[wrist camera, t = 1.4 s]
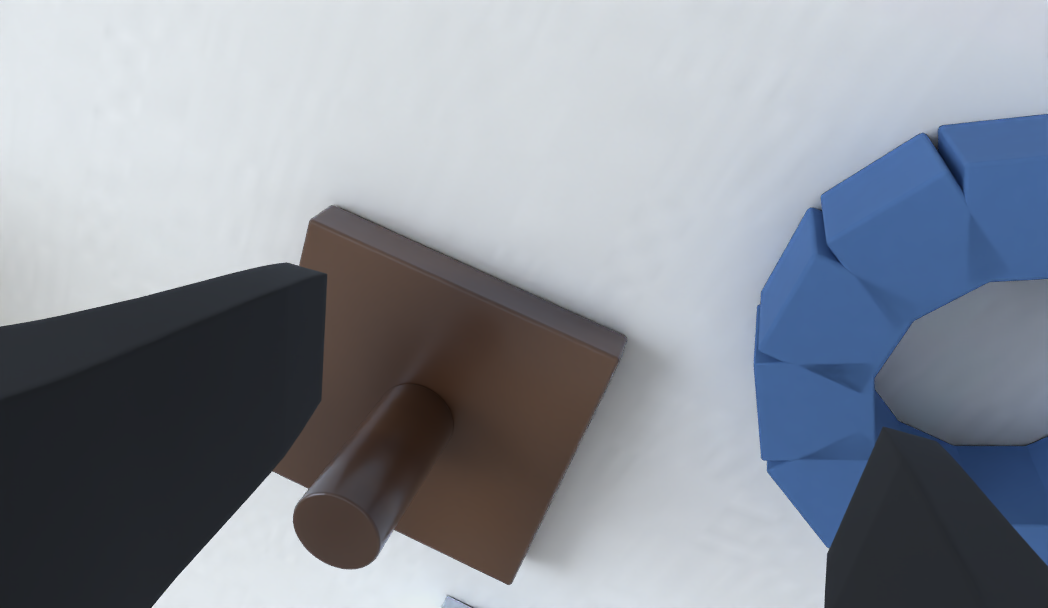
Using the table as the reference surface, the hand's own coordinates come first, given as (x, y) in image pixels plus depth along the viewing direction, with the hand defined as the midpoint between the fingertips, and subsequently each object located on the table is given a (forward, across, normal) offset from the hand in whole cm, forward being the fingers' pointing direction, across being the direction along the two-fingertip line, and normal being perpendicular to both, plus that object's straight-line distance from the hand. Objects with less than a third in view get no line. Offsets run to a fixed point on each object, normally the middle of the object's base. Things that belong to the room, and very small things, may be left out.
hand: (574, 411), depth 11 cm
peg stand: (+9, +5, +7) cm, 12 cm away
